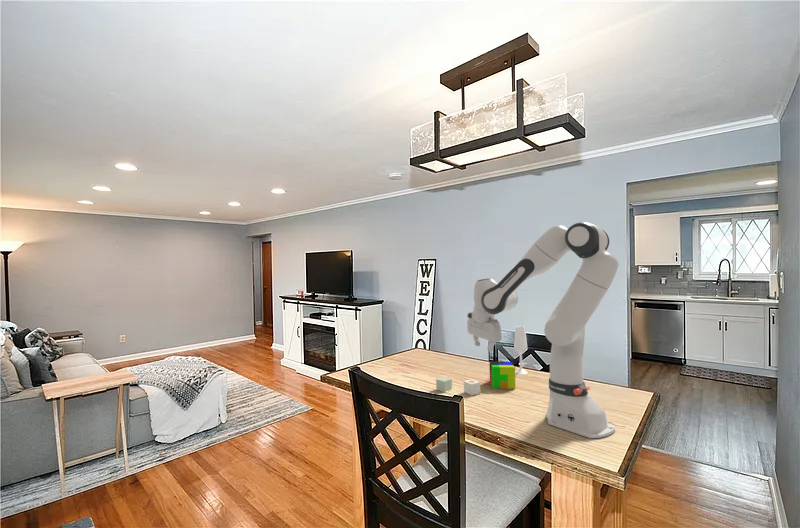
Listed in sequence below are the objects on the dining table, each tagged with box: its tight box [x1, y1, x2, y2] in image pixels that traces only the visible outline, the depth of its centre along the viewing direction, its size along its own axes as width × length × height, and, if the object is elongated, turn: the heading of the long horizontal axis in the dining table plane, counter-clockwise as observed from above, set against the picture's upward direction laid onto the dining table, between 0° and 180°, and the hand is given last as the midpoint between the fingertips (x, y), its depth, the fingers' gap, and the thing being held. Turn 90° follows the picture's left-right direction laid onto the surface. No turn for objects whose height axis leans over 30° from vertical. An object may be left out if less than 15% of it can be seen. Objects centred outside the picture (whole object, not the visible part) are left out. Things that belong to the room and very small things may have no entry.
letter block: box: [463, 379, 481, 396], centre depth 162 cm, size 5×5×5 cm
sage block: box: [435, 376, 453, 393], centre depth 167 cm, size 5×5×5 cm
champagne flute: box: [513, 325, 528, 375], centre depth 192 cm, size 7×7×24 cm
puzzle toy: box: [489, 360, 516, 390], centre depth 172 cm, size 10×10×10 cm
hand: (483, 348), depth 157 cm, fingers open, 8 cm apart
